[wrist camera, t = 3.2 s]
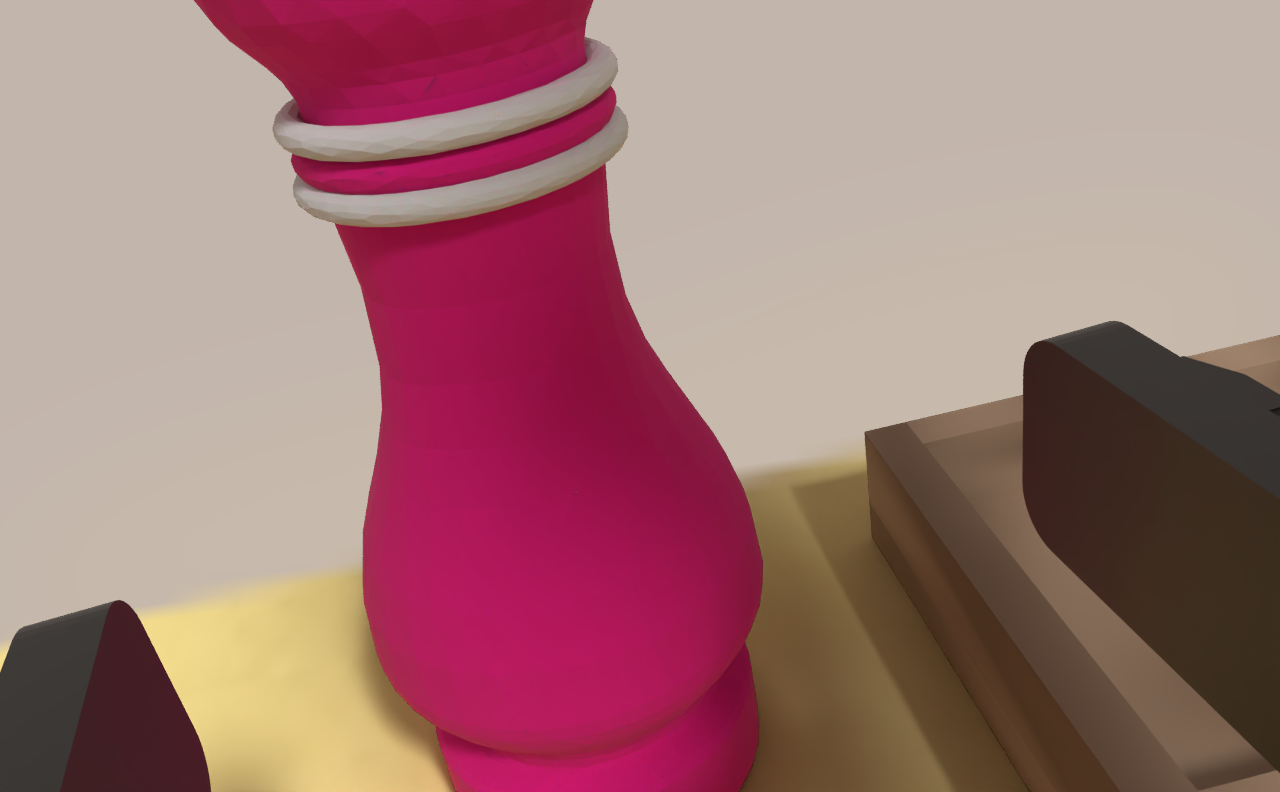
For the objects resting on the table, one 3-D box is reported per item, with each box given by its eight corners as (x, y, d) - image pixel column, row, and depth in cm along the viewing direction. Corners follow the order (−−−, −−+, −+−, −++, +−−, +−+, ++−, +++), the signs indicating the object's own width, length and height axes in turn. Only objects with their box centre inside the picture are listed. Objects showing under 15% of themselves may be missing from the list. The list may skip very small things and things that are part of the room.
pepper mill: (459, 641, 26) (132, -385, 16) (765, 603, 25) (618, -484, 16) (401, 920, 20) (-192, -490, 10) (808, 877, 19) (604, -662, 9)
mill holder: (1330, 425, 28) (1348, 318, 26) (1883, 798, 17) (1964, 654, 16) (872, 536, 27) (864, 431, 25) (1158, 999, 16) (1174, 867, 15)
